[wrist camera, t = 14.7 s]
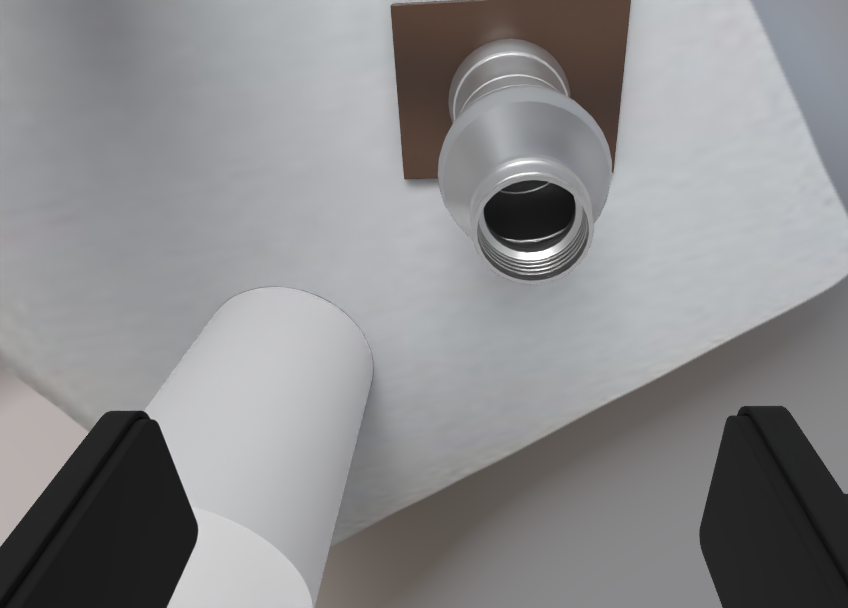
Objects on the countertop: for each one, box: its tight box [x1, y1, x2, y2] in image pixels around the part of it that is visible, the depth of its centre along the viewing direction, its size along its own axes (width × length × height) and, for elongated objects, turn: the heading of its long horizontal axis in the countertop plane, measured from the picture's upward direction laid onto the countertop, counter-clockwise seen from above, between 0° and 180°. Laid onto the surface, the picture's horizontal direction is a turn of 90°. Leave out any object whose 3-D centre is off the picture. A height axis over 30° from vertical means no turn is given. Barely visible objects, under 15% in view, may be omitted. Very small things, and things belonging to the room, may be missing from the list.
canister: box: [144, 287, 373, 608], centre depth 40 cm, size 14×14×20 cm
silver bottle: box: [438, 39, 612, 284], centre depth 27 cm, size 6×7×20 cm
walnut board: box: [391, 0, 631, 179], centre depth 36 cm, size 10×13×1 cm
